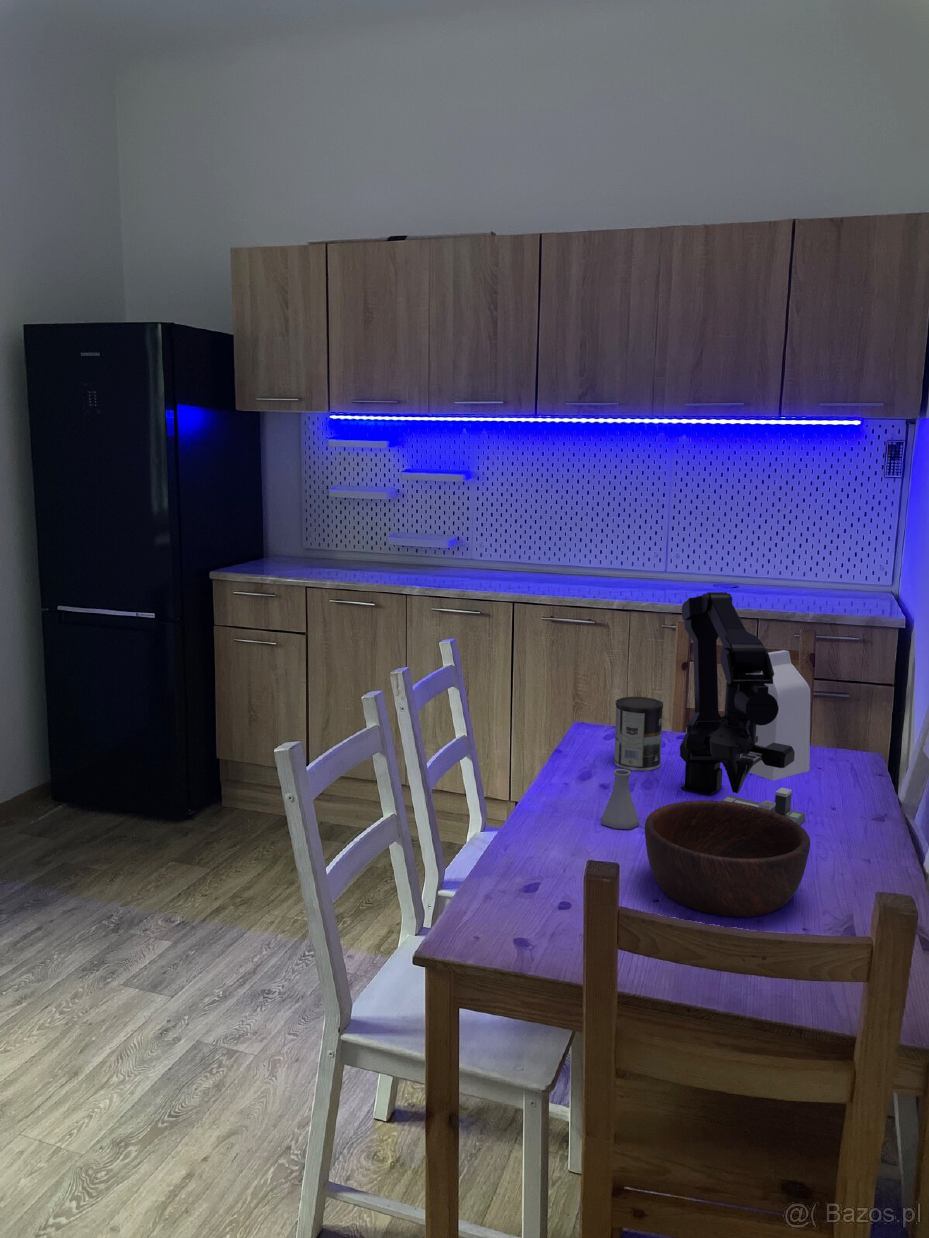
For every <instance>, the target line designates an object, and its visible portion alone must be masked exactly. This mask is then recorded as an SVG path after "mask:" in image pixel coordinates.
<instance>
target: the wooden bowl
mask: <svg viewBox="0 0 929 1238" xmlns="http://www.w3.org/2000/svg"><path fill="white" fill-rule="evenodd" d="M644 836H645V837H644V838H645V846H646V847H645V848H646V854H647V859H648V864H649V868H650V870H651V872H652V875H653V877H654V879H655V881H656V883H657V884H658V886H659V888H660V889H661V890H662V891H663V892H664V893H665V894H666V895H667V896H668V897H669V898H670V899H672V900H673V901H675V902H677V903H679V904H680V905H683V906H685V907H687V908H690V909H692V910H696V911H699V912H702V913H707V914H711V915H716V916H723V917H736V918H737V917H738V918H739V917H740V918H741V917H745V918H746V917H747V918H748V917H757V916H764V915H767V914H770V913H774V912H775V911H777V910H779V909H781V908H783V907H784V906H785V905H787V904H788V903H789V902H790V900H791V899H792V898H793V897H794V895H795V893H796V892H797V890H798V888H799V886H800V884H801V882H802V881H803V877H804V873H805V870H806V866H807V863H808V858H809V854H810V849H811V839H810V838H811V837H810V836H809V834H808V831H806V830H805V828H804V827H802V826H801V825H799V824H797V823H796V822H794V821H793V820H791V819H789V818H787V817H785V816H783V815H781V814H778V813H776V812H773V811H770V810H767V809H764V808H760V807H756V806H751V805H747V804H741V803H735V802H726V801H722V800H705V799H704V800H690V801H689V800H688V801H681V802H678V801H677V802H673V803H671V804H666V805H664V806H661V807H658V808H657V809H655V810H652V812H651V813H650V814H649V815H648V816H647V817H646V819H645V822H644Z"/></svg>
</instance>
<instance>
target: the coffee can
mask: <svg viewBox="0 0 929 1238" xmlns="http://www.w3.org/2000/svg"><path fill="white" fill-rule="evenodd" d="M663 708H664V702H663V701H661V700H660V699H656V698H652V697H647V696H627V697H621V698H618V699H616V700H615V729H614V731H615V732H614V758H613V759H614V760H613V763H614V765H615V766H617V767H619V769H625V770H629V771H635V772H649V771H654V770H656V769H657V770H658V769H660V767H661V754H662V753H661V751H662V750H661V749H662V729H663V727H662V726H663V711H664V710H663Z"/></svg>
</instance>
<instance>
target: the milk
mask: <svg viewBox="0 0 929 1238" xmlns="http://www.w3.org/2000/svg"><path fill="white" fill-rule="evenodd" d="M768 654H769V657H770V660H771V664H772V667H773V671H774V676H773V684H765V685H767V686H768V693H769V694H770V695H772V696H773V697H774V698H775V699H776V701H777V703H778V706H779V710H778V714H777V716H776V718H775V719H774V720H773V721H772V722H771V723H769V724H767V725H757V727H756V736H758V742H756V743H755V745H758V746H763V747H767V746H768V745H770V744H771V743H778V744H783V745H789V746H792V748H793V749H794V752H795V755H794V761H793V762H792V763H790V764H789V765H788V766H786V767H785V768H777V767H772V766H767V765H765V764H764V763H763V761H762V760H761V761H759V762H757V763H756V764H754V765H753V766H752V768H751V769H750V771H749V773H750V774H753V775H756V776H758V777H761V778H765V779H767V780H770V781H777V780H780V779H784V778H788V777H791V776H796V775H799V774H804V773H807V772H810V767H811V766H810V764H811V763H810V762H811V760H810V757H811V756H810V753H811V752H810V751H811V750H810V747H811V688H810V686H809V684H808V682H807V681H806V679H805V678H804V677H803V676H802V675H801V674H800V672H799V671H798V669H797V668H796V666H794V665H793V664H792V659H791V654H790V651H789V650H785V649H782V650H777V651H776V650H775V651H771V652H768ZM759 674H763V672H762V671H761V673H759ZM740 758H741V755H740Z"/></svg>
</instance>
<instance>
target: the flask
mask: <svg viewBox="0 0 929 1238" xmlns="http://www.w3.org/2000/svg"><path fill="white" fill-rule="evenodd" d="M613 775H614V783H613V787H612V791H611V794H610V795H609V798H608V801H607V803H606V806H605V808H604V810H603V813H602V815H601V818H600V819H601V825H603V826H606V827H609V828H612V829H619V830H620V829H621V830H632V829H634V828H636V827H638V826H640V822H639V821H640V820H639V817H638V814H637V810H636V808H635V804H634V802H633V798H632V795H631V791H630V784H629V782H630V781H629V779H630V778H629V777H630V776H631V770H627V769H623V768H617V769H615V770H613Z"/></svg>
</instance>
